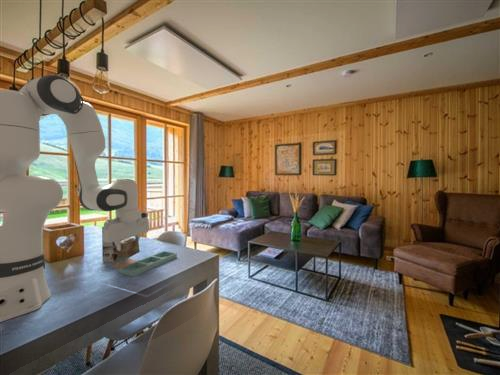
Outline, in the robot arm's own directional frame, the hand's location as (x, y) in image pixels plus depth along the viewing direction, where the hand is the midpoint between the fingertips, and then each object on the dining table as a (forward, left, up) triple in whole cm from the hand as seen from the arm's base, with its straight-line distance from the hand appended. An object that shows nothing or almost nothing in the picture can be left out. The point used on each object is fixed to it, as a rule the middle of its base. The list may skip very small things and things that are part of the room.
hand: (128, 247), depth 103 cm
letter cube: (0, 0, -3) cm, 3 cm away
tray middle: (+4, -9, -8) cm, 13 cm away
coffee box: (+3, +12, -8) cm, 15 cm away
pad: (0, 0, -8) cm, 8 cm away
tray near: (-4, -9, -8) cm, 13 cm away
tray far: (+12, -9, -8) cm, 17 cm away
